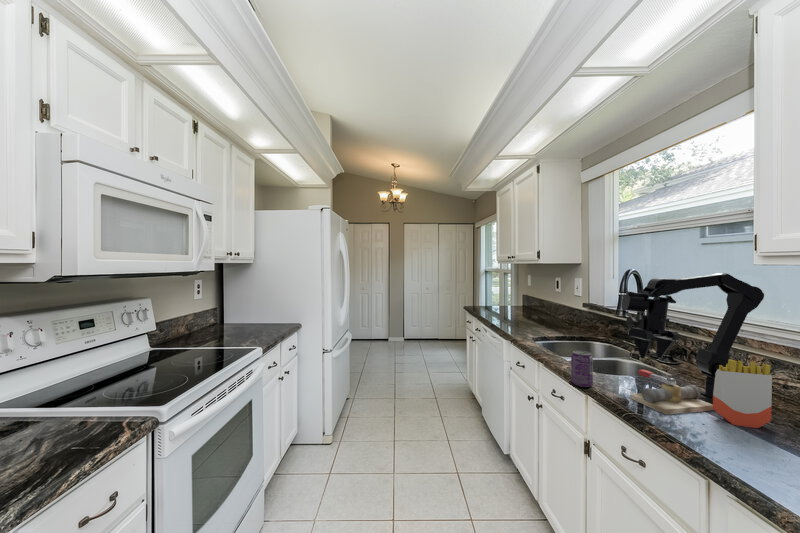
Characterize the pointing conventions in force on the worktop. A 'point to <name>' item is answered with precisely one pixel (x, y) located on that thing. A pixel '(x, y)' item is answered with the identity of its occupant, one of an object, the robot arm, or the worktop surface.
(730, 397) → the french fries container
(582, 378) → the beverage can
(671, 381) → the valve lever
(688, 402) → the valve board
